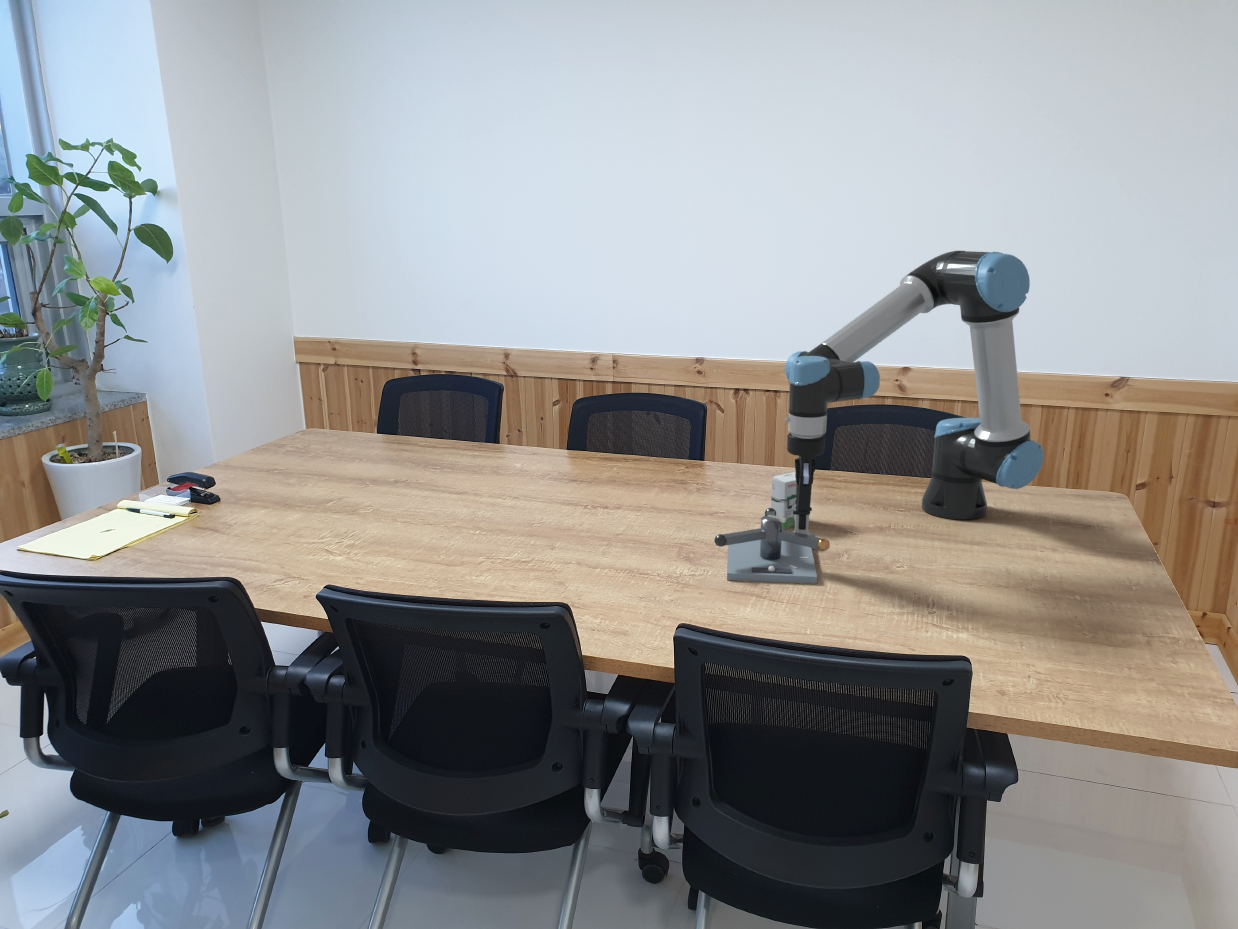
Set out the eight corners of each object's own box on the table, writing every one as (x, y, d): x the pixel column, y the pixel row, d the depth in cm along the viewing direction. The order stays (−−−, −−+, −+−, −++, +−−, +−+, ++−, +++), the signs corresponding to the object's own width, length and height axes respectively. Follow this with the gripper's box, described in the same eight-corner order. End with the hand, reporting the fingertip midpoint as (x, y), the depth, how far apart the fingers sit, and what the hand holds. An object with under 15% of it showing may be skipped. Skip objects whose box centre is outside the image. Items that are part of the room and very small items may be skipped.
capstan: (852, 553, 194) (854, 513, 192) (801, 589, 177) (802, 546, 174) (767, 533, 207) (768, 495, 204) (711, 564, 189) (712, 524, 187)
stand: (814, 542, 205) (814, 531, 204) (822, 583, 183) (823, 572, 182) (728, 539, 208) (728, 528, 207) (726, 580, 186) (727, 568, 185)
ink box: (783, 530, 213) (785, 481, 210) (769, 524, 217) (770, 476, 214) (810, 522, 218) (812, 475, 215) (795, 517, 222) (797, 470, 219)
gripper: (786, 424, 190) (781, 529, 197) (788, 441, 178) (783, 553, 185) (823, 425, 189) (817, 531, 196) (827, 442, 177) (821, 554, 184)
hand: (800, 541), depth 191 cm, fingers closed
